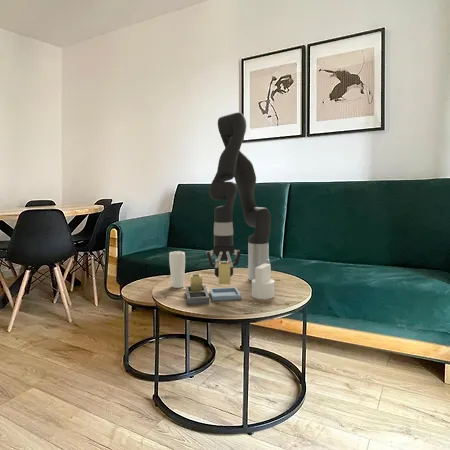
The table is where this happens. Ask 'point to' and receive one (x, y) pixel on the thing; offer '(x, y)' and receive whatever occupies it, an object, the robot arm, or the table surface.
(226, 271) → the gold square peg
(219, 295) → the parts tray
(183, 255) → the white tapered cylinder
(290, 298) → the table surface
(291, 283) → the table surface
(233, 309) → the table surface
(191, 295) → the frame
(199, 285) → the square peg
